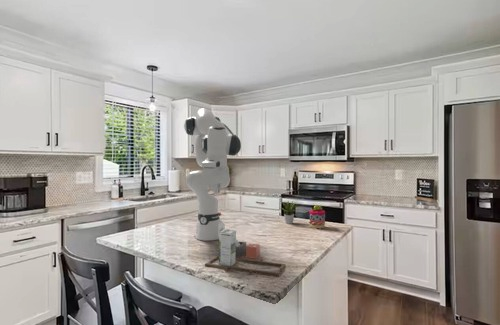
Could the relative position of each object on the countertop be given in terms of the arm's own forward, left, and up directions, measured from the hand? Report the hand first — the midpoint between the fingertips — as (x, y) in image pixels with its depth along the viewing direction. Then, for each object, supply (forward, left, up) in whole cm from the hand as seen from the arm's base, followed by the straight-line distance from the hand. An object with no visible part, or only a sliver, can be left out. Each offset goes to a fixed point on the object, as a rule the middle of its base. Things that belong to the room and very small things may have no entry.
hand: (216, 193), depth 126 cm
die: (-11, +13, -30) cm, 35 cm away
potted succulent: (-80, +34, -30) cm, 92 cm away
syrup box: (+3, +7, -30) cm, 31 cm away
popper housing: (-12, +3, -30) cm, 32 cm away
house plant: (-84, +14, -30) cm, 90 cm away
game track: (+2, +14, -30) cm, 33 cm away
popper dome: (-12, +3, -28) cm, 31 cm away
